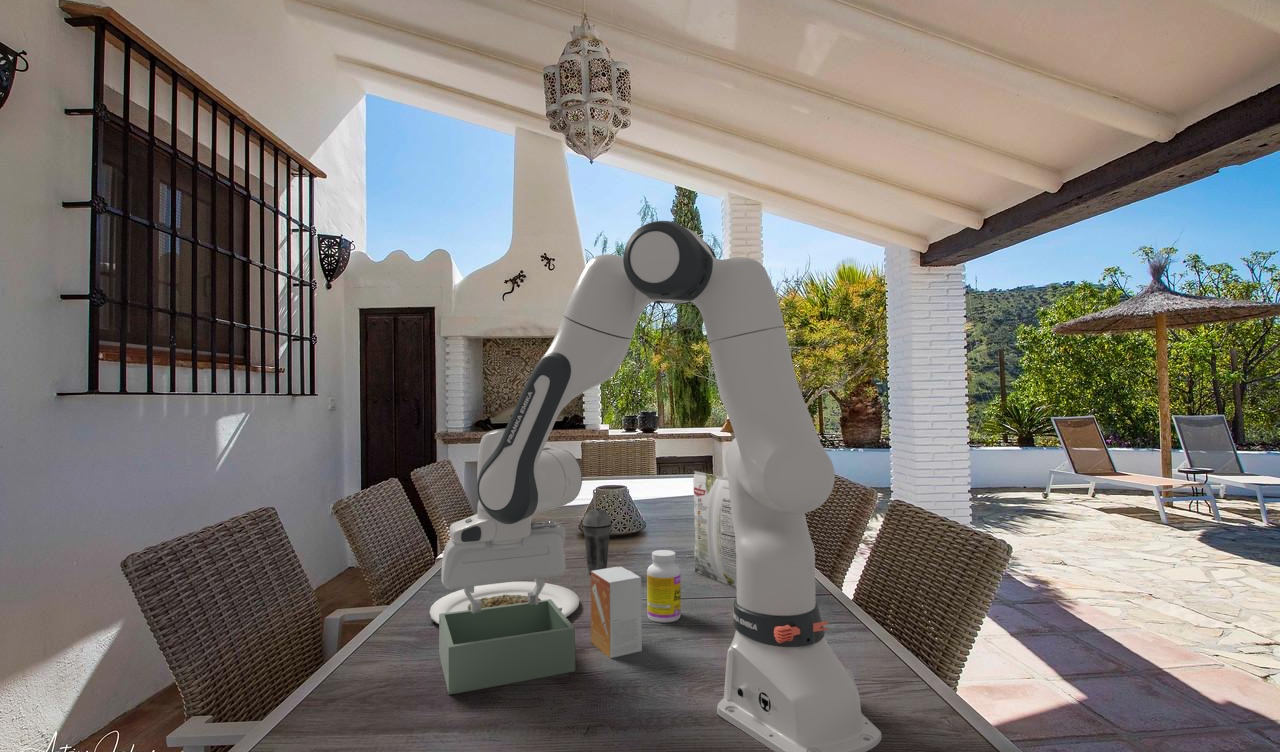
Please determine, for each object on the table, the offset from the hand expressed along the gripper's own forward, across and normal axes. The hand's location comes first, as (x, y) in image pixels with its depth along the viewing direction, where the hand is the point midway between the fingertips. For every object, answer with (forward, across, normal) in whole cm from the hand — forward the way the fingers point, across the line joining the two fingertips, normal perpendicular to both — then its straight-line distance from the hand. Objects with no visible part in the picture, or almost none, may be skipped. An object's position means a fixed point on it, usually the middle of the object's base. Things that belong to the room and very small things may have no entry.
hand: (505, 608), depth 108 cm
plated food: (+10, -5, -26) cm, 28 cm away
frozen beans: (+9, -55, -25) cm, 61 cm away
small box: (+9, -19, +1) cm, 21 cm away
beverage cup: (+9, -31, -45) cm, 55 cm away
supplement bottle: (+9, -33, -9) cm, 35 cm away
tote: (+9, 0, 0) cm, 9 cm away
